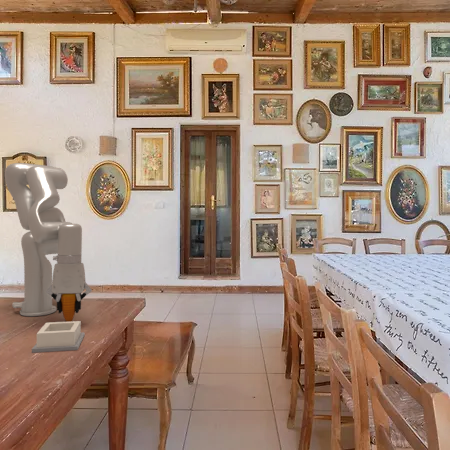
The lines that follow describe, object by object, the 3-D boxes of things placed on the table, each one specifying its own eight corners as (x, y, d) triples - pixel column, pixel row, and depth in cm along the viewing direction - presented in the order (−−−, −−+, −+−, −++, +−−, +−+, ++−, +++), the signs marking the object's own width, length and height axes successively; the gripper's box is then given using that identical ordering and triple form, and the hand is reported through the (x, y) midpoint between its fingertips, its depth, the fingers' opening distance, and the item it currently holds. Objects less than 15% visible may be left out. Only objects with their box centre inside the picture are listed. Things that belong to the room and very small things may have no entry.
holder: (31, 352, 100) (31, 334, 99) (43, 337, 111) (43, 321, 111) (77, 349, 102) (77, 332, 102) (84, 335, 114) (84, 319, 114)
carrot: (79, 323, 125) (80, 280, 124) (69, 327, 121) (69, 283, 120) (68, 321, 127) (68, 279, 126) (57, 325, 122) (58, 281, 121)
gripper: (39, 261, 117) (39, 316, 118) (94, 261, 121) (93, 314, 122) (45, 258, 124) (45, 309, 125) (97, 258, 128) (96, 308, 129)
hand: (69, 311), depth 123 cm, fingers closed on carrot, 4 cm apart
